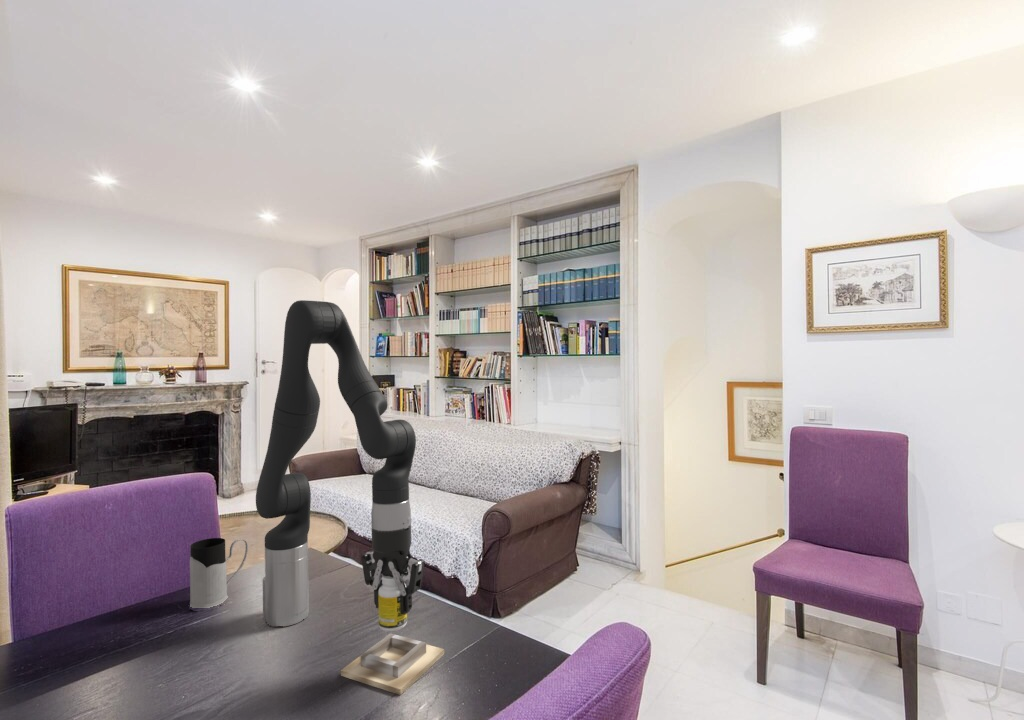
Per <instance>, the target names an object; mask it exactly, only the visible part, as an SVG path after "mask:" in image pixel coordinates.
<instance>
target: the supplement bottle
mask: <svg viewBox="0 0 1024 720" xmlns="http://www.w3.org/2000/svg"><path fill="white" fill-rule="evenodd" d="M403 576H404V573H403V574H402V575H400V577H401V578H402V577H403ZM382 584H383V585H382V586H381V587H380V588H379V592H378V602H379V609H378V627H379V629H380V630H382V631H384V632H396V631H399V630H402V629H403V628H404V627H405V626H406V625H407V624H408V613H407V614H405V615H403V614H401V611H400V595H401V592H400V589H399V586H398V585H397V584H396V583H395V580H394V578H393V577H391V576H383V575H382ZM405 586H406V584H405Z"/></svg>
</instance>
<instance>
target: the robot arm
mask: <svg viewBox="0 0 1024 720" xmlns="http://www.w3.org/2000/svg"><path fill="white" fill-rule="evenodd" d="M351 329H352V328H351V327H350V324H349V321H348V319H347V317H346V316H345V314H344V312H343V310H342V309H341V308H340V306H339V305H338V304H336V303H334V302H329V301H320V300H319V301H318V300H301V299H300V300H296V301H294V302H293V303H292V304H291V305H290V307H289V308H288V310H287V313H286V318H285V324H284V332H283V333H284V335H283V348H282V359H281V370H280V378H279V382H278V387H277V393H276V398H275V402H274V408H273V414H272V421H271V427H270V428H271V429H270V433H269V440H268V444H267V445H268V446H267V450H266V454H265V458H264V461H263V464H262V468H261V472H260V475H259V479H258V482H257V487H256V490H255V491H256V492H255V507H256V511H257V513H258V515H259V516H260V517H261V518H263V519H267V520H268V519H275V518H280V517H284V518H283V519H282V520H281V521H280V522H279V523H278V524H277V525H276V526H274V527H273V528H271V529H270V530H269V531H267V532H266V533H265V536H264V575H265V576H264V577H263V578H262V619H263V620H265V619H266V620H265V623H266V622H267V623H266V625H268V624H269V625H268V626H270V625H271V626H270V627H274V626H283V627H288V626H289V627H290V626H292V625H296V624H298V623H300V622H302V621H304V620H305V619H306V618H307V617H308V616H309V614H310V612H309V611H310V609H309V608H310V605H309V604H310V601H309V600H310V599H309V594H310V593H309V592H310V591H309V589H310V588H309V550H308V548H309V547H308V538H309V537H308V536H309V531H310V527H311V526H310V525H311V503H312V502H311V500H312V499H311V497H312V496H311V494H312V493H311V485H310V481H309V479H308V477H307V476H306V475H305V474H304V473H302V472H293V473H292V472H291V473H287V470H288V467H290V464H291V462H292V461H293V459H294V458H295V456H296V455H297V454H298V453H299V452H300V450H301V449H302V448H303V447H304V446H305V444H306V443H307V442H308V441H309V439H311V436H312V435H313V434H314V431H315V429H316V427H317V423H318V418H319V414H320V413H319V412H320V408H321V407H320V406H321V398H320V395H319V391H318V389H317V386H316V385H315V382H314V380H313V378H312V376H311V374H310V370H309V357H310V356H309V355H310V349H311V346H312V345H321V344H322V345H323V344H327V345H328V346H329V347H331V349H332V350H333V352H334V353H335V355H336V357H337V361H338V367H337V368H338V369H337V370H338V372H337V385H338V389H339V392H340V394H341V396H342V398H343V400H344V403H346V405H347V406H348V409H349V410H350V411H351V413H352V415H353V417H354V420H355V426H356V430H357V433H358V437H359V443H360V445H361V447H362V449H363V451H364V452H365V453H366V454H367V455H368V457H371V458H373V459H375V460H385V463H384V465H383V466H382V467H381V468H380V469H378V470H377V471H375V472H374V473H373V475H372V478H371V493H372V495H371V497H372V503H371V514H370V518H371V548H372V550H369V551H367V552H365V553H362V554H361V556H360V559H361V566H362V571H363V576H364V577H363V578H364V583H365V585H367V586H368V585H370V586H371V588H372V590H373V598H374V599H373V602H374V605H375V608H376V609H377V610H379V602H378V592H379V588H380V587H381V586H382V585H383V584H382V575H383V576H391V577H393V578H394V580H395V583H396V584H397V585H398V586H399V589H400V592H401V595H400V611H401V614H403V615H405V614H407V615H408V614H409V612H410V611H411V610H412V607H413V595H414V594H415V593H416V592H417V591H419V590H420V589H422V583H423V576H424V570H425V569H424V568H425V560H423V559H414V558H413V557H412V555H411V545H412V515H411V513H412V512H411V504H410V487H409V484H410V483H409V478H410V473H411V470H412V466H413V462H414V456H415V452H416V451H415V450H416V445H417V438H416V433H415V432H416V431H415V430H414V428H413V426H412V424H410V422H409V421H407V420H406V419H405V420H404V419H394V420H388V421H383V419H382V418H381V416H383V414H385V412H386V410H387V408H388V401H387V398H386V397H385V394H384V393H383V392H382V391H381V389H380V387H379V386H378V384H377V382H376V381H375V379H374V377H373V376H372V374H371V372H370V371H369V369H368V368H367V365H366V363H365V361H364V360H363V359H364V358H363V357H362V354H361V351H360V349H359V346H358V344H357V342H356V339H355V337H354V334H353V331H352V330H351ZM402 574H403V577H402V578H401V577H400V575H402ZM405 585H406V586H405ZM303 619H304V620H303Z"/></svg>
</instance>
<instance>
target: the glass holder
mask: <svg viewBox="0 0 1024 720" xmlns="http://www.w3.org/2000/svg"><path fill="white" fill-rule="evenodd" d="M238 541H243V542H244V543H245V552H244V556H243V559H242V561H241V564H240V565H239V567H238V568H237V569H236V571H235V572H234V573H233V574H232V576H231V577H230V578H229V579H228V578H227V561H228V560H230V559H231V558H232V556H233V548H234V546H235V545H236V543H237V542H238ZM189 550H190V557H189V587H190V588H189V592H190V593H189V595H190V597H189V600H190V601H189V604H190V607H192V608H210V607H213V606H217V605H219V604H221V603H223V602H224V601H225V600H226V599H227V598H228V597H229V596H228V586H229V584H230V583H231V582H232V581H233V579H234V578H235V577H236V576H237V575H238V573H239V572H240V570H242V569H243V567H244V564H245V562H246V560H247V557H248V551H249V544H248V541H247V540H246V539H244V538H237V539H235V540H234V541H233V542H232V543H231V545H230V547H229V555H228V557H226V539H225V538H222V537H213V538H212V537H211V538H206V539H200V540H197V541H196V542H193V543H191V544H190V549H189ZM227 579H228V581H227Z"/></svg>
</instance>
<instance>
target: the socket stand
mask: <svg viewBox="0 0 1024 720" xmlns="http://www.w3.org/2000/svg"><path fill="white" fill-rule="evenodd" d="M444 655H445V649H444V648H442V647H438V646H434V645H430V644H428V643H427V642H425V641H421V640H417V639H413V638H410V637H406V636H403V635H397V634H395V633H388V634H387V635H386V636H384V638H382V639H380V640H379V641H378V642H377V643H375V644H374V645H373V646H371V647H370V648H369V649H368V650H366V651H365V652H363V653H362V654H361V655H359V656H358V657H356V658H355V659H354V660H353V661H351V662H350V663H349V664H347V665H346V666H345V667H344V668H342V669H341V670H340V676H341V677H344V678H347V679H350V680H353V681H357V682H358V683H362V684H366V685H368V686H371V687H373V688H374V687H375V688H378V689H382V690H384V691H387V692H390V693H393V694H396V695H399V696H402V695H403V693H405V692H406V691H408V689H409V688H410V687H411V686H412V685H413V684H414V683H415V682H417V680H419V678H421V677H422V675H424V674H425V673H426V672H427V671H428V670H429V669H430V668H431V667H432V666H433V665H434V664H435V663H436V662H438V661H439V660H440V659H441V658H442V657H443V656H444Z"/></svg>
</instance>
